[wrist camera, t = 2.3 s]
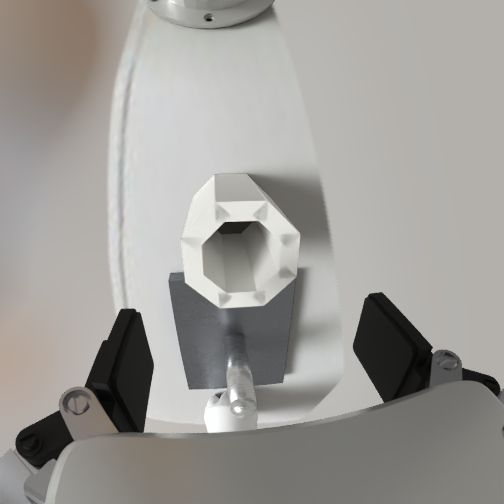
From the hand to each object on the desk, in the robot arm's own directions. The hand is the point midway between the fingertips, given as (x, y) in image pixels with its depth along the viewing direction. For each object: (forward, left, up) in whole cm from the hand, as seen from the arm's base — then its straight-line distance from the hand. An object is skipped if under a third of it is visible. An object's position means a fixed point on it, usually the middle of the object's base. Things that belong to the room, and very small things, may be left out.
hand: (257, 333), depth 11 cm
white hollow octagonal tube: (-1, 0, -16) cm, 16 cm away
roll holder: (+13, 0, -16) cm, 21 cm away
